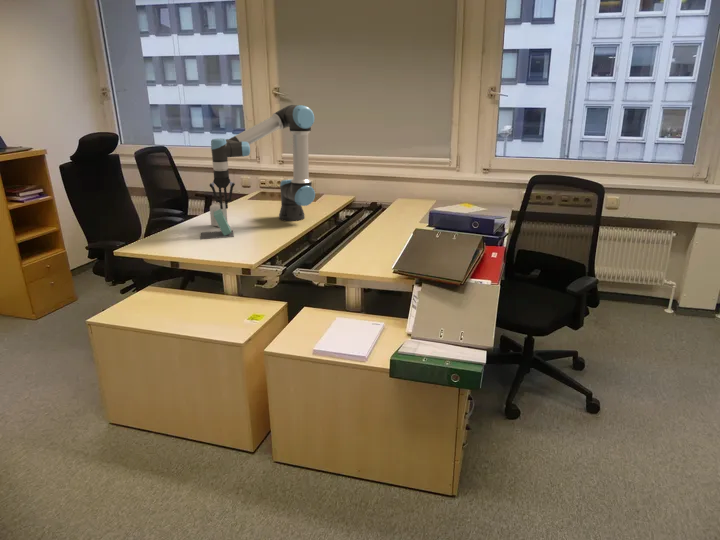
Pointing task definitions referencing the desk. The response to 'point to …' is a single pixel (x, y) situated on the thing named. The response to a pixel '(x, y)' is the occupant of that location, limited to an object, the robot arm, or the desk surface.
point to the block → (222, 222)
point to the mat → (215, 235)
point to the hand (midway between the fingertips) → (224, 214)
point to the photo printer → (212, 210)
